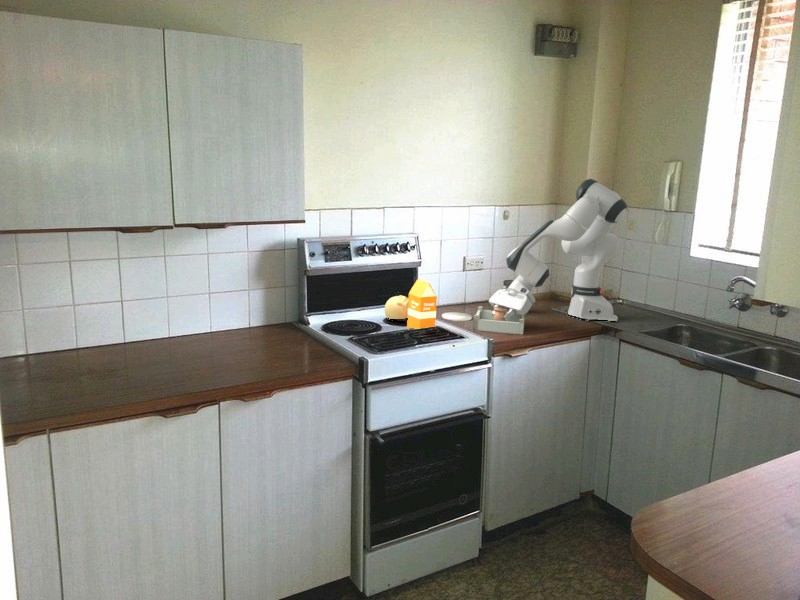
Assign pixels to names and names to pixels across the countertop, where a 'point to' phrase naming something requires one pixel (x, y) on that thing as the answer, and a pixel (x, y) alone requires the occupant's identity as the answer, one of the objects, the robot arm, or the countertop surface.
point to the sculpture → (397, 307)
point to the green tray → (498, 322)
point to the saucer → (456, 316)
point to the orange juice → (421, 306)
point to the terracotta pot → (499, 313)
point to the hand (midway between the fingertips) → (498, 316)
